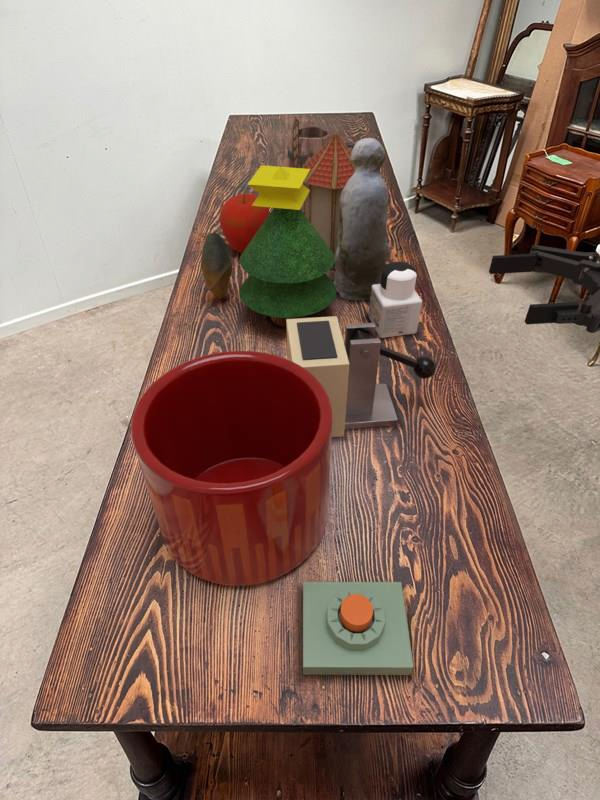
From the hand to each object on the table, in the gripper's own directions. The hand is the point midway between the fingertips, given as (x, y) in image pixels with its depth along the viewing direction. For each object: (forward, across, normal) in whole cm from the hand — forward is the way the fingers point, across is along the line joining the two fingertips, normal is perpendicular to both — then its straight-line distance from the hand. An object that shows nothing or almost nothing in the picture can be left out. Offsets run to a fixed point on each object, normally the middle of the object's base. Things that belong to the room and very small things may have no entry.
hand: (508, 288), depth 77 cm
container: (+9, +23, -22) cm, 34 cm away
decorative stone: (+44, +37, -22) cm, 61 cm away
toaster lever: (+16, 0, -13) cm, 20 cm away
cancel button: (+27, -37, -19) cm, 50 cm away
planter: (+40, -19, -22) cm, 49 cm away
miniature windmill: (+19, +56, -22) cm, 63 cm away
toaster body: (+28, 0, -22) cm, 35 cm away
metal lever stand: (+21, 0, -22) cm, 30 cm away
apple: (+37, +58, -22) cm, 72 cm away
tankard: (+16, +80, -22) cm, 84 cm away
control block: (+27, -37, -22) cm, 51 cm away
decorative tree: (+30, +29, -22) cm, 47 cm away
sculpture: (+13, +38, -22) cm, 46 cm away
